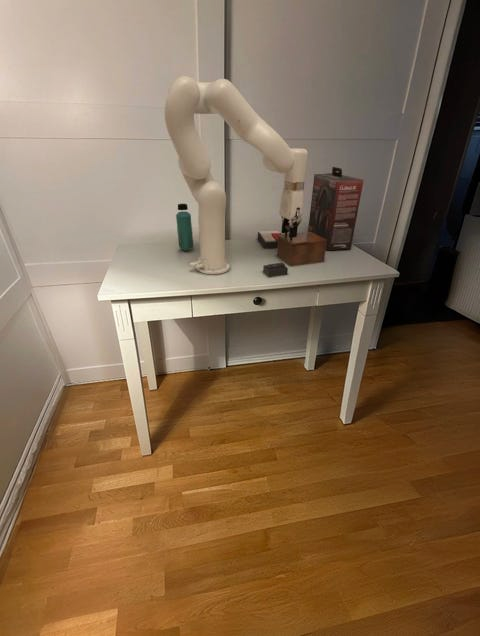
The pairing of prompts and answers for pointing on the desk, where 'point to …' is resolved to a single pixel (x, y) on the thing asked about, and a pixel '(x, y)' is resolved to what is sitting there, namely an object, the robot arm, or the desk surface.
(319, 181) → the headset box
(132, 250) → the desk surface
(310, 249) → the chest
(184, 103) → the robot arm
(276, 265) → the black capsule on box
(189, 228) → the beverage bottle
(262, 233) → the calculator
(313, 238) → the lid
